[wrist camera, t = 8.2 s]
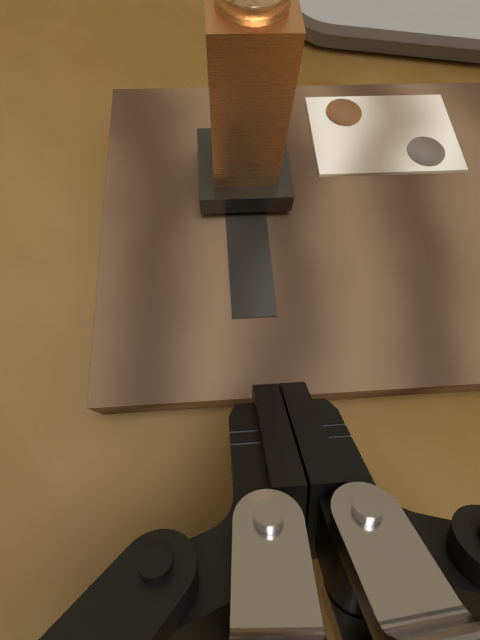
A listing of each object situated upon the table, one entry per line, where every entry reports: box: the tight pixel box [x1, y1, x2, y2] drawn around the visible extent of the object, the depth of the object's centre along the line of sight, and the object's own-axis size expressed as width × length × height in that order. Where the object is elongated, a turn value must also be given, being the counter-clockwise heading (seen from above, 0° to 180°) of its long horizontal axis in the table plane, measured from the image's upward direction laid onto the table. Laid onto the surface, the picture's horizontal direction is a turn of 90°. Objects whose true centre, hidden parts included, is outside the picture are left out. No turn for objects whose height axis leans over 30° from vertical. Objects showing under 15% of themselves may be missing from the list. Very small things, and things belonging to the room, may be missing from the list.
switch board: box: [87, 83, 480, 414], centre depth 19 cm, size 30×18×2 cm, turn 94°
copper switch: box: [197, 0, 306, 214], centre depth 14 cm, size 4×4×8 cm
